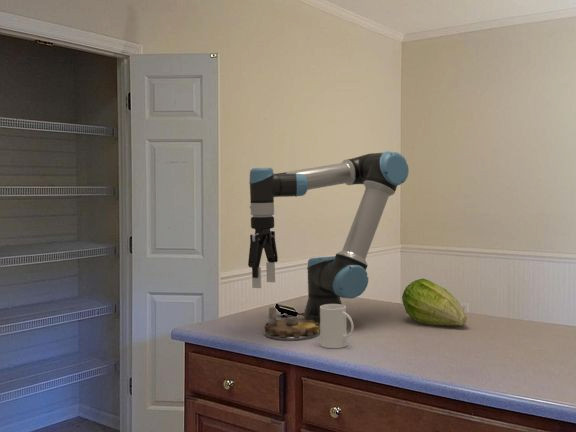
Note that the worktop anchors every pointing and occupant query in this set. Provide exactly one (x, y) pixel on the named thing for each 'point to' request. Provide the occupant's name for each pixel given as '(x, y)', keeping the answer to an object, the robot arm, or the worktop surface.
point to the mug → (334, 326)
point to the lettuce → (432, 304)
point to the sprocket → (290, 326)
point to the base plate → (292, 337)
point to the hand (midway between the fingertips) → (264, 284)
